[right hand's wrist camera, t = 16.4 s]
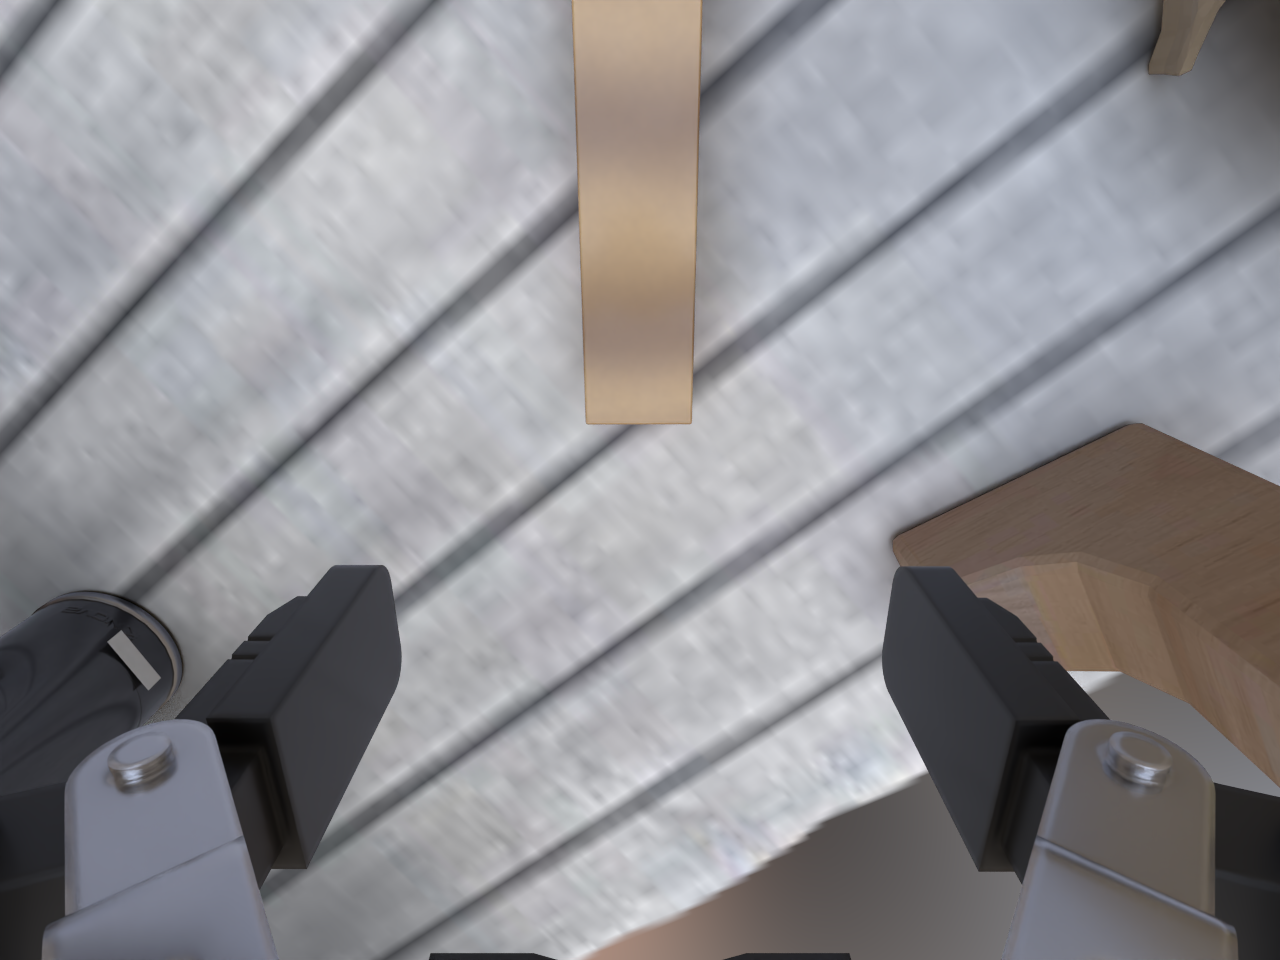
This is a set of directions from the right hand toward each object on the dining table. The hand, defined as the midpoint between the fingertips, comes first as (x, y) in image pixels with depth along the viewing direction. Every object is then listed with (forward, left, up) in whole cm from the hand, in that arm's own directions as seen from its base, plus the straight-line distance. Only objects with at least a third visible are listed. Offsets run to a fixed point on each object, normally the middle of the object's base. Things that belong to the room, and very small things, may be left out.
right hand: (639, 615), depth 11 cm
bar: (+8, +4, -28) cm, 30 cm away
